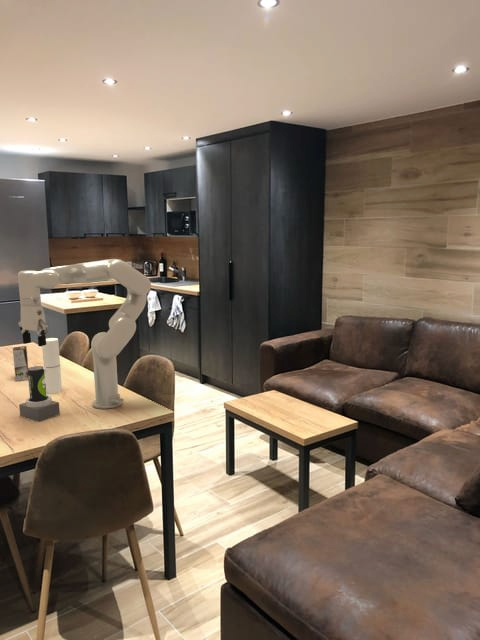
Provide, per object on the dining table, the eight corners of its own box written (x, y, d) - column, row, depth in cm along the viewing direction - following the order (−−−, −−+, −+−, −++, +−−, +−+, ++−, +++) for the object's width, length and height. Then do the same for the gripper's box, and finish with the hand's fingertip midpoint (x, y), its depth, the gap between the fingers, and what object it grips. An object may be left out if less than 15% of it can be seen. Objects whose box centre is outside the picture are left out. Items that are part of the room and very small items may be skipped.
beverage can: (27, 404, 203) (24, 368, 200) (40, 400, 208) (37, 365, 205) (37, 407, 199) (33, 370, 197) (50, 402, 204) (47, 367, 202)
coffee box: (29, 380, 255) (26, 349, 252) (15, 381, 253) (12, 350, 250) (29, 375, 264) (26, 345, 261) (16, 376, 261) (13, 346, 258)
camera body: (59, 414, 205) (58, 397, 204) (38, 421, 197) (37, 404, 196) (41, 408, 212) (40, 393, 211) (20, 416, 204) (18, 399, 202)
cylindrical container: (56, 394, 232) (52, 341, 227) (42, 393, 233) (38, 341, 229) (65, 389, 238) (61, 338, 234) (51, 388, 240) (47, 337, 236)
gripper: (52, 302, 195) (56, 344, 198) (25, 299, 204) (29, 340, 207) (36, 304, 189) (40, 348, 192) (8, 301, 198) (13, 344, 201)
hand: (34, 344), depth 200 cm, fingers open, 9 cm apart
